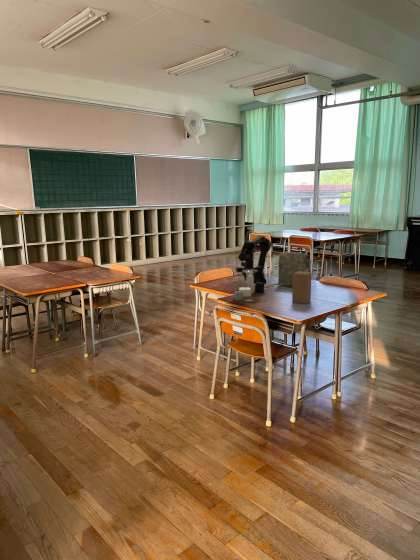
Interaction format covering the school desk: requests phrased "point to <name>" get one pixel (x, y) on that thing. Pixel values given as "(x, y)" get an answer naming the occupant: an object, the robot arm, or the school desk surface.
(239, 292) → the grey cube
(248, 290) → the plinth
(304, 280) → the block
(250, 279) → the green cube
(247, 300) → the board
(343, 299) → the school desk surface
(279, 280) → the bag
